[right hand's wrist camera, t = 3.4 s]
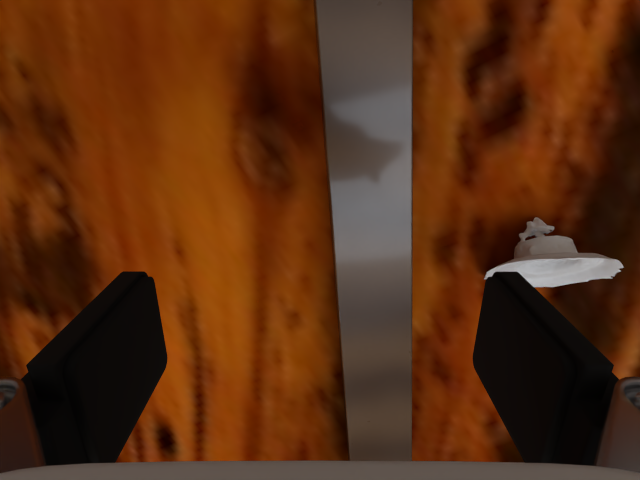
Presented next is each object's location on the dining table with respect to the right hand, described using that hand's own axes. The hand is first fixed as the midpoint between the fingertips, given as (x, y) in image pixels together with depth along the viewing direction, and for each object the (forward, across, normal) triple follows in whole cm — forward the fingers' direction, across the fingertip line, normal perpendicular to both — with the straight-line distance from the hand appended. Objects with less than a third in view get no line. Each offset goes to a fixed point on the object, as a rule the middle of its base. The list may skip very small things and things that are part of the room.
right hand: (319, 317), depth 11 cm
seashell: (+18, +16, -6) cm, 25 cm away
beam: (+18, +4, -18) cm, 26 cm away
